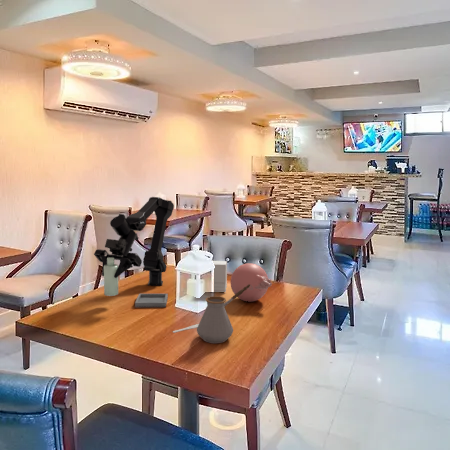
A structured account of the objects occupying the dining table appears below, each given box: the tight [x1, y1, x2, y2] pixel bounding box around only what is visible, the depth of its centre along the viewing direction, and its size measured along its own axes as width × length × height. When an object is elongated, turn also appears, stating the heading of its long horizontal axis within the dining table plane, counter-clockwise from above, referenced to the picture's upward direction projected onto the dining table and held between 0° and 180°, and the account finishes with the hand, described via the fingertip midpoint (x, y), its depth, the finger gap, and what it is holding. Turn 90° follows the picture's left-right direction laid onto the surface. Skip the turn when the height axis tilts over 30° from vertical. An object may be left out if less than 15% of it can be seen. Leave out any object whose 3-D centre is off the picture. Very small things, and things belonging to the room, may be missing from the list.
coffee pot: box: [196, 284, 253, 344], centre depth 132 cm, size 21×12×15 cm, turn 132°
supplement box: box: [212, 260, 228, 293], centre depth 179 cm, size 7×7×13 cm
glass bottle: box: [103, 257, 119, 297], centre depth 156 cm, size 5×5×14 cm
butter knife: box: [172, 323, 199, 334], centre depth 133 cm, size 1×24×3 cm
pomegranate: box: [230, 262, 273, 303], centre depth 164 cm, size 15×20×15 cm
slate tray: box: [134, 293, 169, 308], centre depth 162 cm, size 12×12×2 cm
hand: (108, 276), depth 154 cm, fingers closed on glass bottle, 5 cm apart
